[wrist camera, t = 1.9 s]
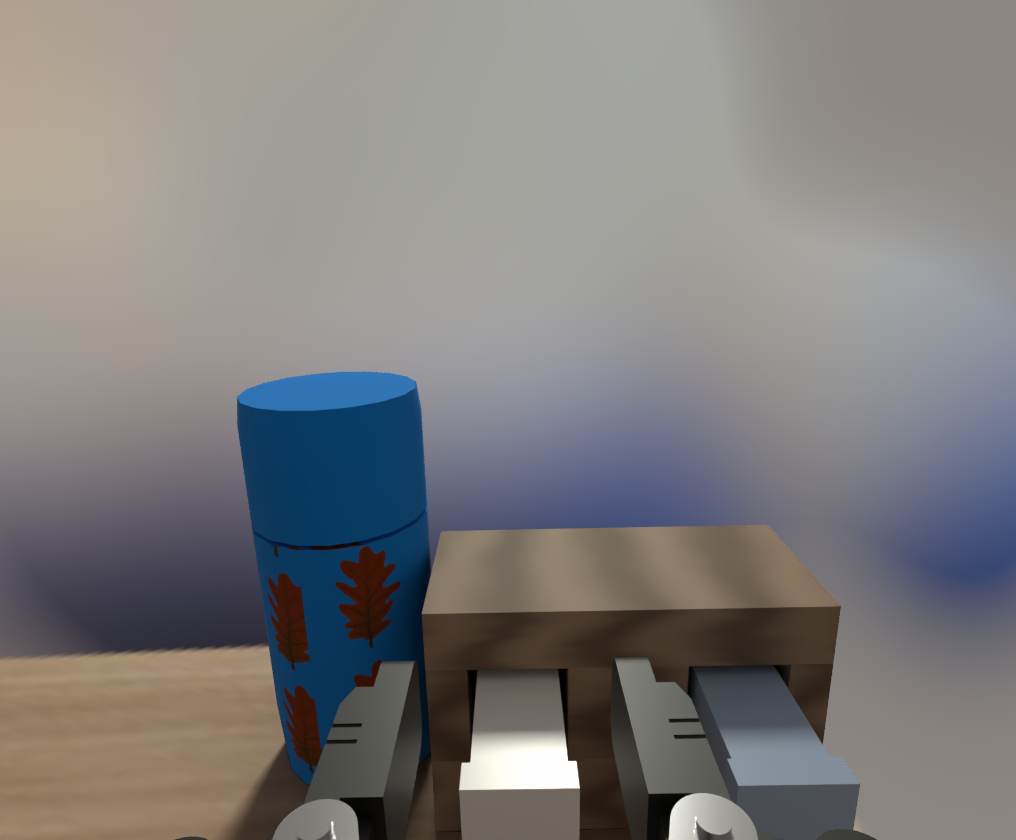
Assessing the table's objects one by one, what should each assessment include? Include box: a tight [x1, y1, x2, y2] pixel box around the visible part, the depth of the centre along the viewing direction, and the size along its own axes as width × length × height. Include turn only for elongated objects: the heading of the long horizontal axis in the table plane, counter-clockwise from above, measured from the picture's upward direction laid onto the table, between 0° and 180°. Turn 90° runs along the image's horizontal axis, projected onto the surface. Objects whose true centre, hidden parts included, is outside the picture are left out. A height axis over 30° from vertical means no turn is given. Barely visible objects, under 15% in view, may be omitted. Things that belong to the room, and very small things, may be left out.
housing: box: [422, 525, 841, 831], centre depth 41 cm, size 22×10×14 cm, turn 90°
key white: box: [459, 669, 580, 840], centre depth 34 cm, size 5×12×5 cm, turn 0°
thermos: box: [237, 372, 431, 785], centre depth 42 cm, size 11×11×25 cm
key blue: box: [687, 665, 860, 840], centre depth 34 cm, size 5×12×5 cm, turn 0°
